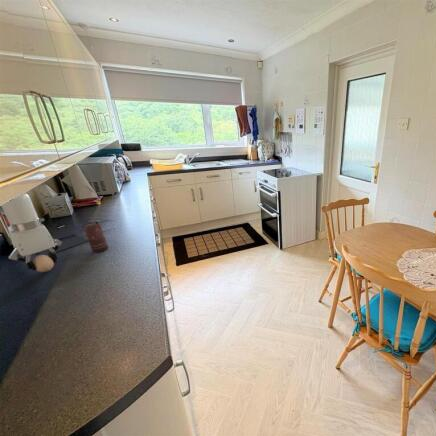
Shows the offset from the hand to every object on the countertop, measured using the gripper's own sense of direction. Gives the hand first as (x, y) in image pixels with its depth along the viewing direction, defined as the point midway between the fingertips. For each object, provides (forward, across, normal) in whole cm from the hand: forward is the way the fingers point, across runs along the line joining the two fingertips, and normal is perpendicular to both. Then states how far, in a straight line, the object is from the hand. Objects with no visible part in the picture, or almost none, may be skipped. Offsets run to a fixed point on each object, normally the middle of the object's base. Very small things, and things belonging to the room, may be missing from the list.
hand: (44, 265), depth 95 cm
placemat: (+3, -14, -25) cm, 29 cm away
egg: (+3, 0, 0) cm, 3 cm away
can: (+3, -20, -1) cm, 20 cm away
